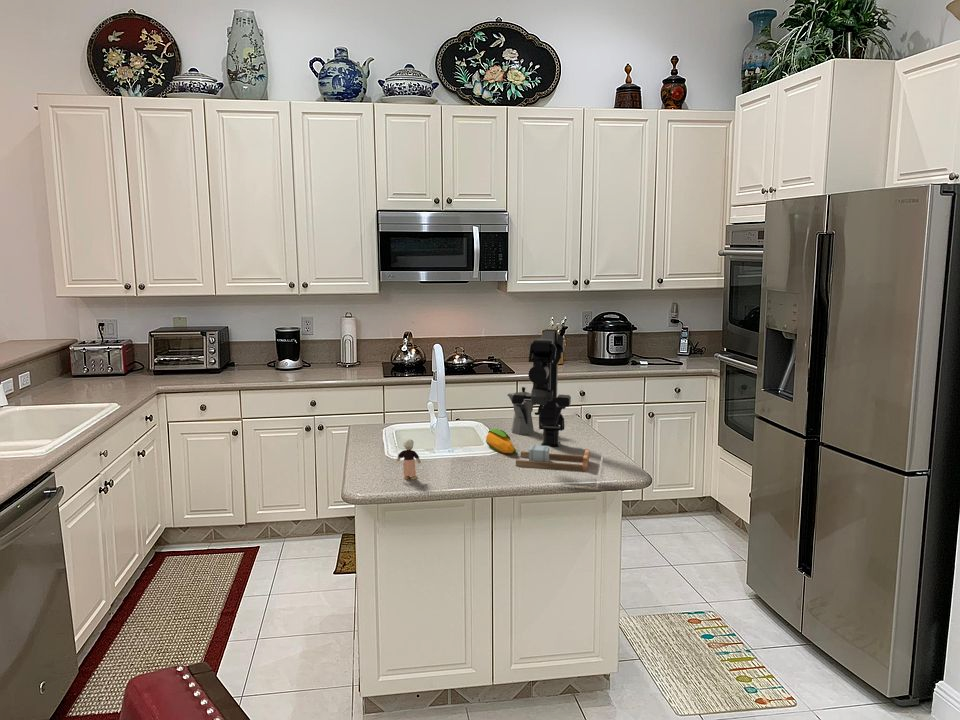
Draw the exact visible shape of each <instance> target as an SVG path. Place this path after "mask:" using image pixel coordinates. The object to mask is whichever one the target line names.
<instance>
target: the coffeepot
mask: <svg viewBox="0 0 960 720" xmlns="http://www.w3.org/2000/svg"><path fill="white" fill-rule="evenodd" d="M520 392H521V393H526V396H531V392H527V391H526V387H524V386H522V387H521V391H520ZM515 393H516V392H510V393H508V394H507V396H508V398H509V399H510V401H511V402H512V396H513V395H514V394H515ZM526 402H527V409H528V424H526V422H525V419H524V416H523V413H522V411H521V409H520V407H519V406H516V404H513V403H512V406H513V412H514V416H513V419H512V424H511V425H512V426H511V433H512V434H514V435H521V436H524V435H526V436H527V435H532V434H534V433H535V430H534V422H533V416H532V412H533V409H534V405H532V404H531V401H526ZM543 406H544V405H538V408H537V412H534V415H535V416H539V413H541V409H542V408H543Z"/></svg>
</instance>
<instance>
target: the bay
mask: <svg viewBox="0 0 960 720" xmlns="http://www.w3.org/2000/svg"><path fill="white" fill-rule="evenodd" d="M520 458H523V459H524V458H526V459H529V451H520ZM523 459H516V460H515V467H524V468H540V469H549V470H562V471H563V470H565V471H577V472H578V471H580V472H588V466H589V461H590V448H585V451H584V453H583V455H577V454H564V453H550V452H549V460H554V461H566V462H567V461H568V462H569V461H570V462H580V463H582V464H579V463H577V464H576V463H565V462H564V463H563V462H552V461H551V462H550V461H549V462H539V461H529V460H523Z"/></svg>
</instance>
